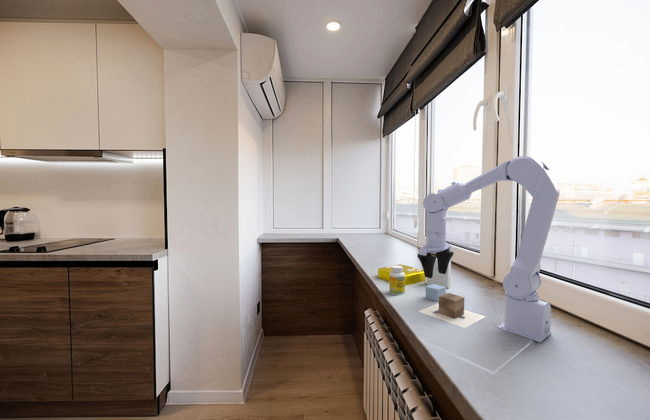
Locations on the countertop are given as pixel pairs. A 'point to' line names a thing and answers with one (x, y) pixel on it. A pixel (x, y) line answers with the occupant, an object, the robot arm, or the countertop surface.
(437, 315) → the letter card
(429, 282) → the small box
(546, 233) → the robot arm
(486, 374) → the countertop surface
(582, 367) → the countertop surface
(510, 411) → the countertop surface
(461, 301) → the walnut block
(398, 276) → the supplement bottle
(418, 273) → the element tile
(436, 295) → the dusty blue cube
